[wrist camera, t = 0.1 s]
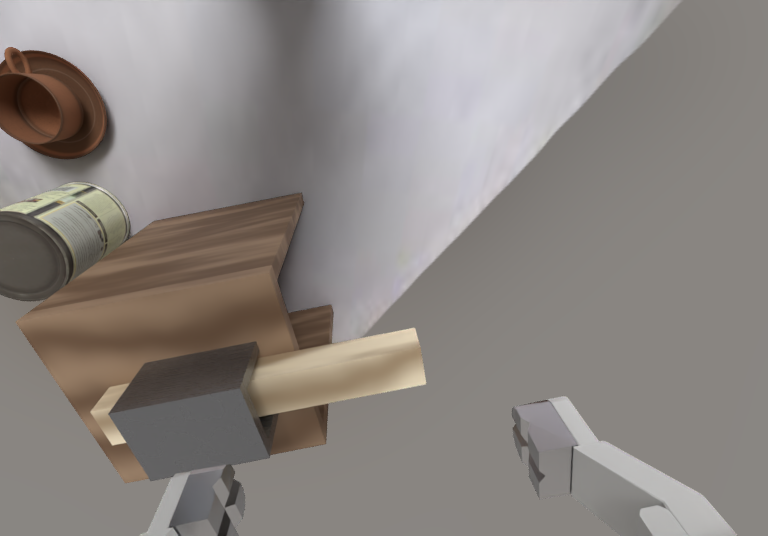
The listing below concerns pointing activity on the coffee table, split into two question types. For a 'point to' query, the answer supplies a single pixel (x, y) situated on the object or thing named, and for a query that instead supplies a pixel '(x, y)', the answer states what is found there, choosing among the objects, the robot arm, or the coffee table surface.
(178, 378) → the metal tunnel
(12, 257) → the coffee can
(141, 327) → the brown tall wooden box
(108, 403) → the beech bar
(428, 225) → the coffee table surface
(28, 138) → the cup and saucer
